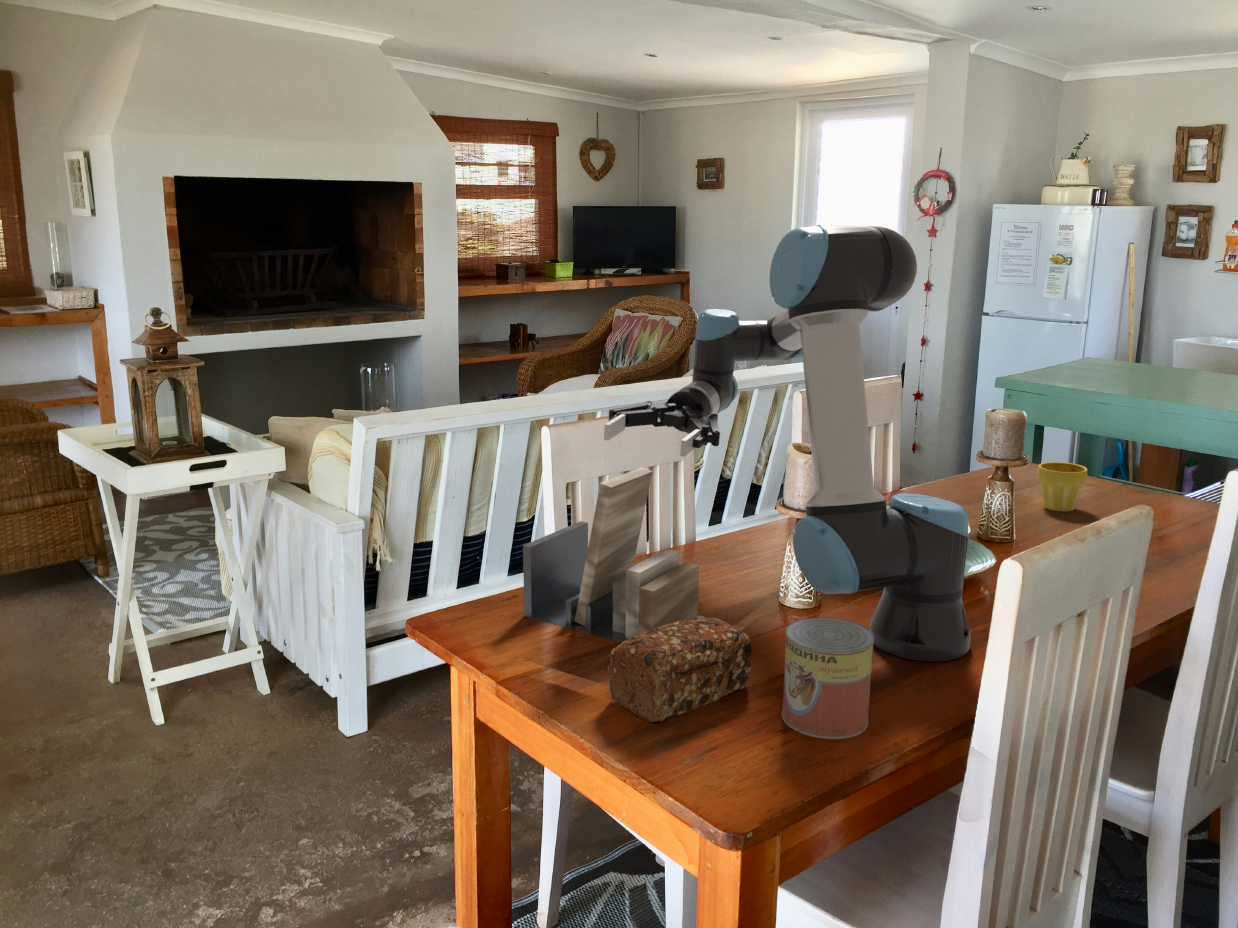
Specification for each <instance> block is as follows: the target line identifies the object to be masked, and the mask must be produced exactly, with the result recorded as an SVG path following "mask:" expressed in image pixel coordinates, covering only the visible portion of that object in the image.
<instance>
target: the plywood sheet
mask: <svg viewBox="0 0 1238 928" xmlns="http://www.w3.org/2000/svg"><path fill="white" fill-rule="evenodd" d="M652 475H653V471H652V470H650V469H648V468H645V467H639V468H637V469H636V468H635V469H633V470H632V471H628V472H625V473H623V474H621V475H618V476H615V477H613V478H610V479H607V480H605V481H602V482H599V488H598V493H597V499H596V504H595V508H594V509H595V511H594V515H593V520H592V526H591V531H590V536H589V540H588V552H587V557H586V562H585V568H584V573H583V578H582V584H581V589H580V594H579V600H578V605H577V610H576V616H575V622H577V623H579V624H581V625H583V626H585V605H587V604H589V603H591V602H593V601H595V600H597V599H598V598H600V597H602V596H604V595H606V594H608V593H609V592H611V591H613V582H615V581H617V580H619V579H621V578H622V577H624V576H626V569H628V568H630V567H632V566H634V565H635V564H634V563H635V559H636V554H637V548H638V544H639V539H640V535H641V534H640V533H641V530H642V524H643V520H644V516H645V509H646V505H647V501H648V495H649V490H650V487H651V480H652Z"/></svg>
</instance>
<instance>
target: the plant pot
mask: <svg viewBox="0 0 1238 928" xmlns="http://www.w3.org/2000/svg"><path fill="white" fill-rule="evenodd" d="M1037 468H1038V469H1037V480H1038V482H1039V483H1040V489H1041V495H1042V504H1043V505H1042V506H1043V508H1045V509H1047V510H1049V511H1054V512H1061V511H1062V512H1064V513H1065V512H1066V513H1067V512H1068V513H1069V512H1073V511H1075V509H1076V506H1077V503H1078V500H1079V497H1080V495H1081V492H1082V489H1083V486H1084V485H1086V484H1087V479H1088V468H1087V467H1086V466H1084V465H1081V464H1076V463H1071V462H1062V461H1061V462H1060V461H1049V462H1048V461H1047V462H1042V463H1039V464H1038V466H1037ZM1062 512H1061V513H1062Z"/></svg>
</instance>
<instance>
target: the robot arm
mask: <svg viewBox="0 0 1238 928" xmlns="http://www.w3.org/2000/svg"><path fill="white" fill-rule="evenodd" d="M917 263H918V262H917V257H916V254H915V251H914V249H913V247H912V246H911V244H910V242H909V241H908V240H907V239H906V238H905V237H904V236H903V235H901V234H900V233H899V232H897V231H895V230H893V229H890V228H887V227H883V226H877V225H875V226H874V225H873V226H871V225H869V226H844V225H842V226H841V225H839V226H838V225H821V224H817V225H814V226H806V227H805V226H804V227H795V228H794V229H791V230H790V231H788V232H787V233H786V234H785V235H784V236H783V237H782V238H781V240H780V241H779V243H778V245H777V247H776V249H775V251H774V253H773V256H772V259H771V263H770V267H769V288H770V289H769V290H770V291H769V292H770V294H771V296H772V298H773V300H774V303H776V305H777V306H779V307H781V308H783V309H785V310H783V312H781V313H779V314H777V315H775V316H774V317H772V318H771V319H759V320H758V319H756V320H755V319H754V320H753V319H751V320H740V319H739V314H738V313H737V312H735V311H732V310H729V309H724V308H723V309H719V308H708V309H704V310H703V311H701V312H700V313H699V314H698V319H697V323H696V330H695V339H694V340H695V343H694V357H693V358H694V359H693V361H694V362H693V368H692V378H691V380H692V381H691V382H690V383H688V384H687V385H685V386H684V387H681V389H679V390H678V391H676V392H675V393H673V394H672V395H670V396H669V398H668V400H667V401H666V402H665V404H663V405H662V404H661V405H655V406H654V405H653V401H652V400H645V401H644V402H642V403H637V404H631V405H627V406H621V407H615V408H611V409H608V421H607V422H606V423H605V424H604V429H603V431H604V433H603V440H604V441H610V440H611V439H613V438H614V437H616V436H618V435H619V434H621V433H622V432H624V431H625V430H626V428H632V427H640V426H650V425H652V426H653V427H655V428H658V427H668V428H672V427H673V428H674V429H676V430H677V431H679V432H683V433H687V435H686V436H685V437H683V438H682V439H681V440H680V453H679V456H680V457H683V458H685V457H686V456H687V455H688V454H690V453H691V452H692V451H694V450H696V449H700V448H702V447H703V446H707V445H708V444H710V445H711V446H712V447H719V446H720V437H721V430H720V427H719V423H718V419H719V414H720V413H721V412H722V411H724V410H726V409H727V408H728V407H730V405H731V404H732V403H733V402H734V400H735V399H736V397H737V395H738V392H739V391H738V390H739V387H738V382H737V380H736V377H735V376H734V370H735V364H736V362H749V361H750V362H751V361H752V362H753V361H754V362H755V361H769V360H770V361H772V360H773V361H775V360H780V361H781V360H782V361H783V360H785V361H788V360H792V359H799V358H802V362H803V363H802V365H803V373H804V374H803V375H804V387H805V398H806V408H807V417H808V418H807V419H808V420H807V421H808V430H809V431H808V432H809V440H810V441H809V442H810V454H811V464H812V475H813V487H814V492H813V495H812V496H811V497H810V499H808V500H807V502H806V503H805V513H806V514H805V515H806V516H804V517H802V518H801V519H800V520H798V522H797V523H796V524H795V526H794V531H793V534H792V547H793V548H792V549H793V553H794V557H795V561H796V564H797V566H798V568H799V570H800V573H801V574H802V576H803V577H804V578H805V580H806V581H807V583H808V584H809V585H810V586H811V587H812V588H813V589H815V590H816V591H817V592H819V593H822V594H826V595H836V594H848V595H851V594H854V593H856V592H861V591H867V590H873V589H874V590H875V589H881V588H883V591H882V595H881V597H880V599H879V602H878V604H877V607H876V609H875V611H874V614H873V617H871V619H870V621H869V631H870V632H871V633H872V634H873V636H874V643H873V646H875V647H876V648H878V649H879V650H881V651H883V652H885V653H887V654H891V655H893V656H896V657H899V658H903V659H907V660H914V661H920V662H947V661H952V660H956V659H960V658H962V657H964V656H965V655H967V653H968V652H969V651H970V648H971V647H970V645H971V631H970V628H969V621H968V618H967V615H966V611H965V607H964V603H963V592H964V590H963V589H964V578H965V568H966V560H967V552H968V551H967V550H968V540H969V537H970V533H969V514H968V511H967V510H966V509H965V508H964V507H963V506H962V505H960V504H958V503H955V502H953V501H950V500H947V499H943V498H939V497H936V496H930V495H926V494H925V495H924V494H919V493H909V492H907V493H906V492H905V493H901V492H900V493H896V494H893V495H892V496H891V497H890V499H889V501H888V505H889V507H888V508H887V503H886V502H887V500H886V497H885V496H884V495H883V494H882V493H880V491H878V490H877V489H876V487H875V486H874V484H875V483H874V477H873V463H872V453H871V452H872V451H871V443H870V432H869V431H870V430H869V421H868V420H869V419H868V418H869V417H868V409H867V408H868V407H867V397H866V388H865V387H866V386H865V376H864V374H865V373H864V364H863V354H862V342H861V332H860V331H861V329H860V326H861V324H862V322H864V320H865V319H866V317H868V315H869V313H870V312H871V313H873V312H874V313H875V312H880V311H883V310H885V309H887V308H888V307H891V306H893V305H894V304H895V303H897V302H898V301H900V300H902V299H903V298H904V297H905V296H906V295H907V293H909V291H910V290H911V289H912V287H913V285H914V283H915V280H916V277H917V272H918V264H917Z"/></svg>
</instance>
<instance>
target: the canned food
mask: <svg viewBox="0 0 1238 928" xmlns="http://www.w3.org/2000/svg"><path fill="white" fill-rule="evenodd" d="M873 643H874V636H873V634H872V633H871V632H870V629H868V628H867V627H866V626H863V625H861V624H859V623H856V622H854V621H851V620H847V619H841V618H836V617H835V618H834V617H826V616H825V617H823V616H822V617H821V616H820V617H819V616H818V617H808V618H802V619H798V620H795V621H793V622H792V623H790V624H789V625H788V626H787V627H786V629H785V653H784V655H785V656H784V675H783V693H782V694H783V696H782V710H781V718H782V720H783V721H784V723H785V724H786V725H787V726H788V727H789V728H791V729H793V730H794V731H796V732H798V733H800V734H803V735H805V736H808V737H812V738H817V739H825V740H841V739H842V740H844V739H849V738H854V737H856V736H858V735H861V734H862V733H863V732H865V731H866V730H867V728H868V726H869V709H870V707H869V706H870V695H871V680H872V679H871V678H872V665H873V653H874V652H873V650H874V644H873Z"/></svg>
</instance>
